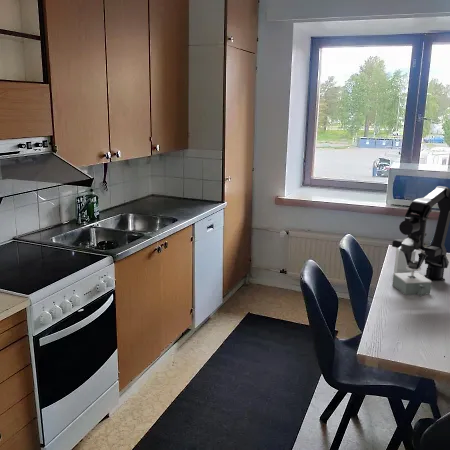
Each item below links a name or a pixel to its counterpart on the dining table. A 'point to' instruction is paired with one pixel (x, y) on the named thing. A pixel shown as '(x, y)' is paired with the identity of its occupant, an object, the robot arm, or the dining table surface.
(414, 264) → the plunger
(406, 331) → the dining table surface
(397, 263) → the supplement box
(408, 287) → the pale grey box
